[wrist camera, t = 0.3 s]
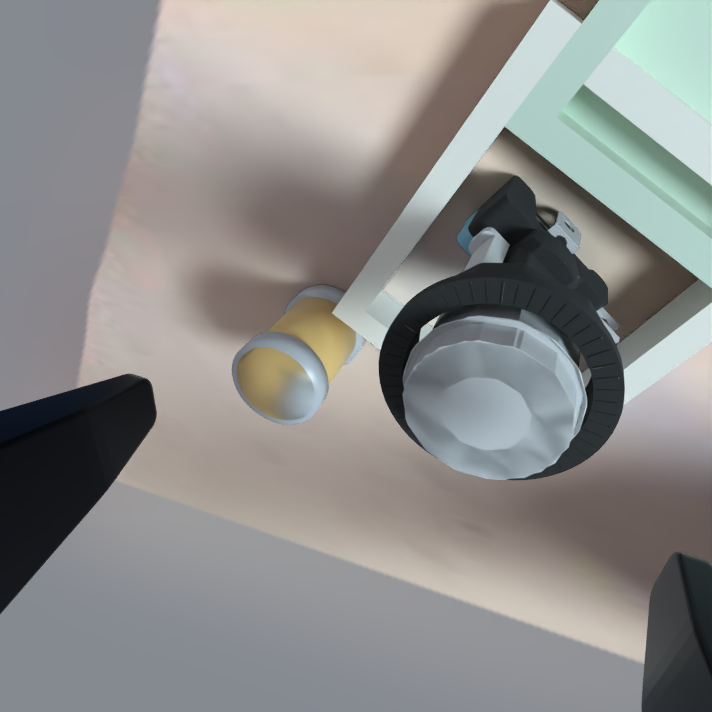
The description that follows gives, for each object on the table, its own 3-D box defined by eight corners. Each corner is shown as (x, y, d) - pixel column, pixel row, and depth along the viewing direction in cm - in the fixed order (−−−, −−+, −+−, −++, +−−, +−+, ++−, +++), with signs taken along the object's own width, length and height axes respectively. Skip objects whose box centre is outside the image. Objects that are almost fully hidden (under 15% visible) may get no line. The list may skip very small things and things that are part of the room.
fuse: (382, 320, 23) (337, 386, 19) (342, 372, 26) (293, 440, 22) (313, 268, 23) (253, 323, 19) (279, 324, 25) (218, 384, 22)
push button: (679, 282, 18) (733, 495, 11) (547, 364, 22) (513, 573, 14) (545, 132, 18) (494, 242, 10) (428, 240, 21) (319, 388, 13)
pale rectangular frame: (830, 216, 16) (854, 239, 14) (533, 441, 24) (528, 472, 22) (556, -1, 16) (550, -1, 14) (345, 298, 23) (326, 319, 22)
